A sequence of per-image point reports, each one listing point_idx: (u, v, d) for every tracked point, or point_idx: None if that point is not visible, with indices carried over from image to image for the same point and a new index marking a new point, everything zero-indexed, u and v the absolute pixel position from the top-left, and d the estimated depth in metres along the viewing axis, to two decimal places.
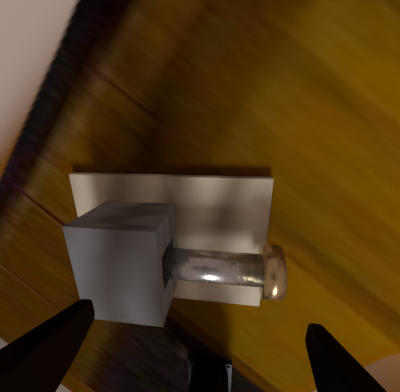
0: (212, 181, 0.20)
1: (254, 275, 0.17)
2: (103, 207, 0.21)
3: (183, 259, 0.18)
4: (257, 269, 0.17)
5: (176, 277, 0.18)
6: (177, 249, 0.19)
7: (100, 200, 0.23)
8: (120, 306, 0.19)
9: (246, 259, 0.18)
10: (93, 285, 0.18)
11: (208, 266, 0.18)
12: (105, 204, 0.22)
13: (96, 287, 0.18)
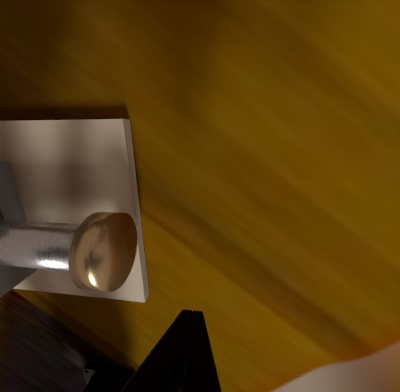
0: (46, 126, 0.14)
1: (67, 254, 0.11)
2: None
3: None
4: None
5: None
6: None
7: None
8: None
9: (65, 231, 0.12)
10: None
11: (8, 241, 0.12)
12: None
13: None
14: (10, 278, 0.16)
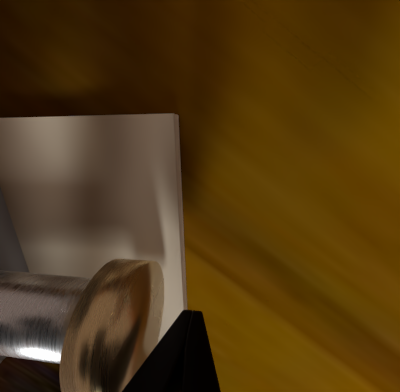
0: (52, 125, 0.09)
1: (58, 344, 0.07)
2: None
3: None
4: (68, 327, 0.07)
5: None
6: None
7: None
8: None
9: (57, 298, 0.07)
10: None
11: None
12: None
13: None
14: None
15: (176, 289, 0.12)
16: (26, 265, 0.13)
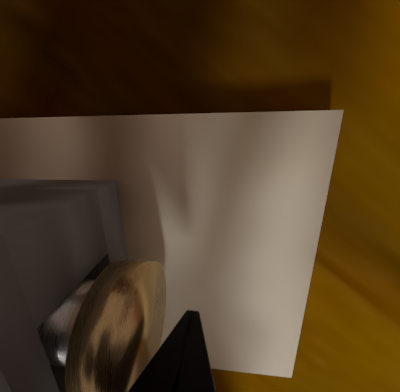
0: (194, 123, 0.09)
1: (62, 346, 0.07)
2: None
3: None
4: (72, 329, 0.07)
5: None
6: None
7: None
8: None
9: None
10: None
11: None
12: None
13: None
14: None
15: (300, 299, 0.11)
16: None
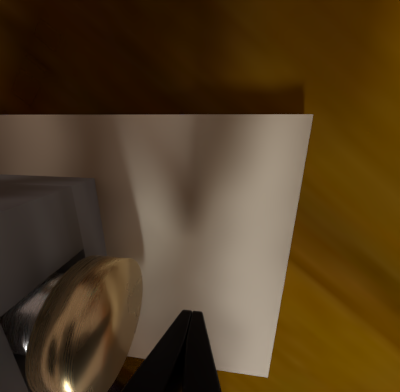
0: (169, 124, 0.09)
1: (29, 337, 0.07)
2: None
3: None
4: None
5: None
6: None
7: None
8: None
9: (30, 293, 0.08)
10: None
11: None
12: None
13: None
14: None
15: (274, 300, 0.11)
16: None
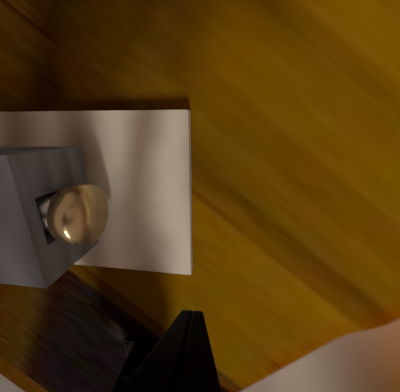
0: (118, 115, 0.17)
1: (47, 214, 0.15)
2: None
3: None
4: None
5: None
6: None
7: None
8: None
9: (47, 198, 0.15)
10: None
11: None
12: None
13: None
14: (79, 249, 0.18)
15: (186, 218, 0.19)
16: None
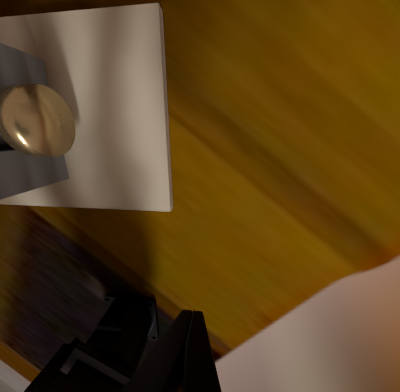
0: (82, 16, 0.15)
1: None
2: None
3: None
4: None
5: None
6: None
7: None
8: None
9: None
10: None
11: None
12: None
13: None
14: (43, 175, 0.17)
15: (162, 142, 0.17)
16: None
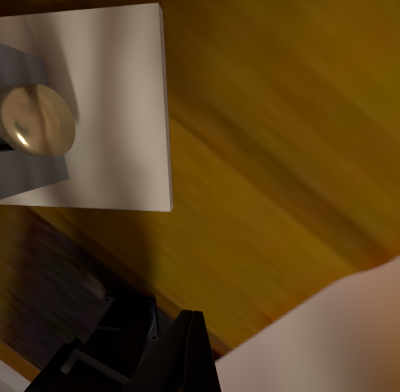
0: (82, 16, 0.15)
1: None
2: None
3: None
4: None
5: None
6: None
7: None
8: None
9: None
10: None
11: None
12: None
13: None
14: (43, 175, 0.17)
15: (162, 142, 0.17)
16: None
